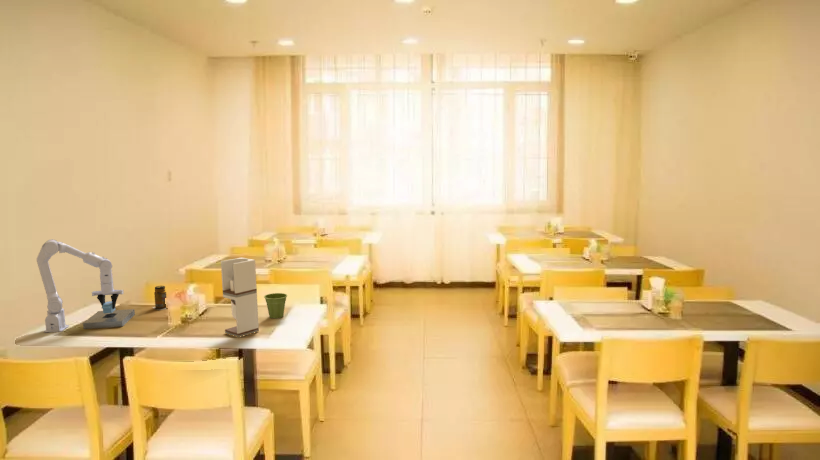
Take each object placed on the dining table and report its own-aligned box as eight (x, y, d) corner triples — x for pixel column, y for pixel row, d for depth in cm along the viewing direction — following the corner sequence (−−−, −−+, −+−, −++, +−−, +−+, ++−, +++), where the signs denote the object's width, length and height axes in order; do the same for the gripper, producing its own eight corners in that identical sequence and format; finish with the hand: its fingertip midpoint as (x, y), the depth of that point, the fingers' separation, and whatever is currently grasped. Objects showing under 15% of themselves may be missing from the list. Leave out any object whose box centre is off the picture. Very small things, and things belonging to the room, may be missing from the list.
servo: (110, 314, 302) (109, 305, 301) (101, 314, 301) (100, 306, 300) (116, 308, 312) (116, 300, 312) (108, 308, 312) (108, 300, 311)
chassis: (122, 326, 298) (122, 320, 298) (83, 329, 295) (83, 323, 295) (134, 314, 319) (134, 309, 319) (98, 316, 316) (98, 311, 316)
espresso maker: (245, 327, 293) (241, 257, 288) (258, 331, 286) (255, 259, 281) (225, 333, 284) (220, 261, 279) (238, 337, 278) (234, 263, 273)
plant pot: (275, 321, 303) (274, 299, 301) (260, 317, 310) (259, 296, 309) (293, 315, 312) (292, 294, 311) (278, 312, 320) (277, 291, 318)
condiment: (165, 305, 338) (164, 284, 336) (170, 308, 331) (169, 287, 329) (152, 307, 333) (150, 286, 331) (157, 310, 326) (155, 289, 325)
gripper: (124, 280, 309) (126, 305, 311) (94, 281, 307) (96, 307, 309) (120, 283, 303) (122, 309, 304) (89, 284, 300) (91, 311, 302)
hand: (109, 308), depth 306 cm, fingers closed on servo, 4 cm apart
